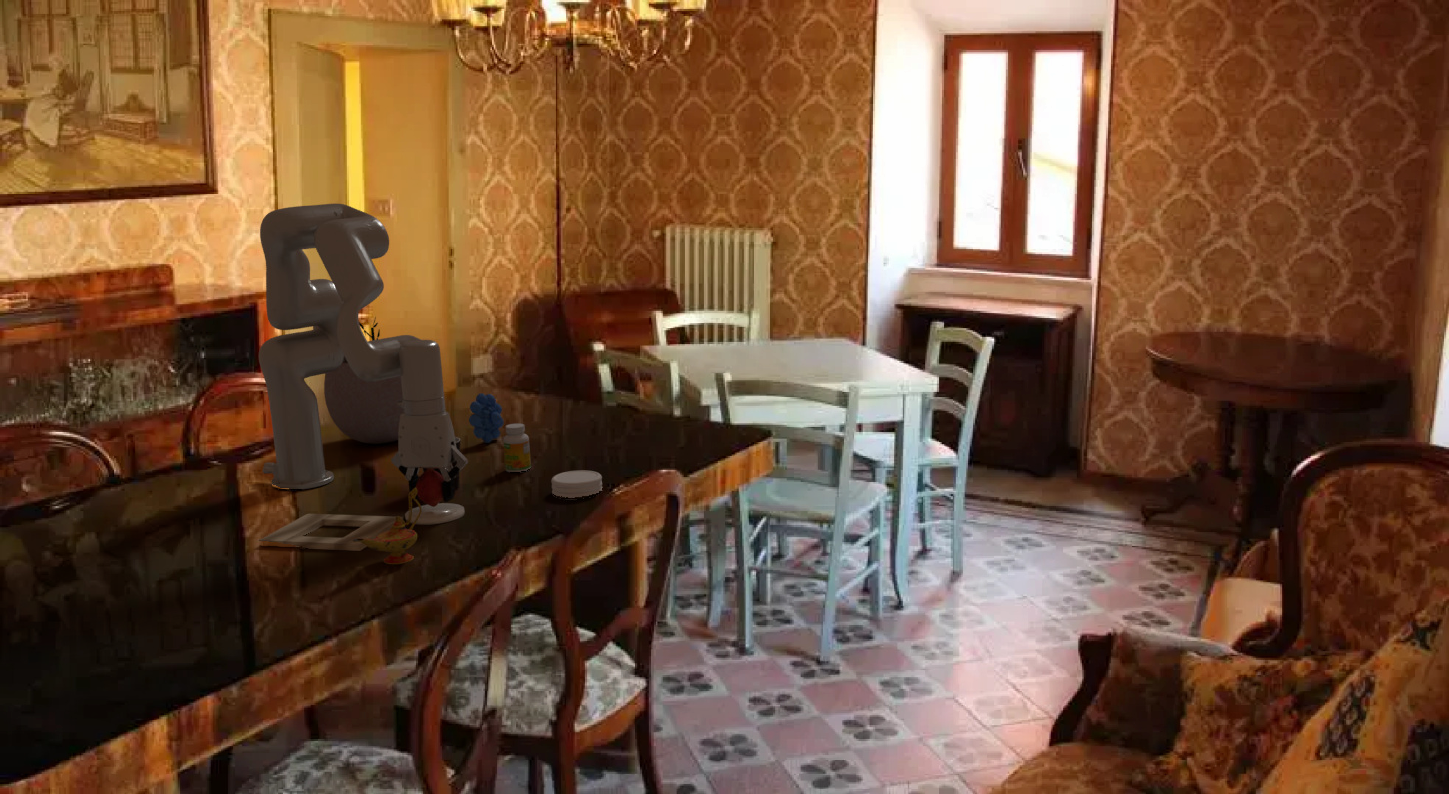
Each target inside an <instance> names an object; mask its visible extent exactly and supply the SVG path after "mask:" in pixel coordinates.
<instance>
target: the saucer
mask: <svg viewBox="0 0 1449 794" xmlns="http://www.w3.org/2000/svg"><path fill="white" fill-rule="evenodd" d="M421 509H422V511H421V514H420V517H419V518H418V520H417V522H416V523H415V525H420V526H421V525H425V526H426V525H427V526H428V525H437V524H446V523H449V522H452V521H456V520H458V519H460V518H462V517H463V516H464V515H465V507H464V506H463V505H460V504H458V503H452V502H451V503H450V502H449V503H448V502H442V503H440V502H439V503H438V505H437V506H435V507H432V506H430V505H428V504H423V505H421ZM419 512H420V508H419V506H416V507H412V518H411V522H410V523H409V524H411V525H412V524H413V523H414V521H415V520H416V518H417V516H418V514H419ZM410 514H411V513H410ZM404 515H405V516H404V517H405V518H404V519H405V521H406V522H407V520H408V518H409V517H408V516H411V515H409V510H407V511H406V512H405V514H404ZM409 519H410V518H409Z"/></svg>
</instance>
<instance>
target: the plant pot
mask: <svg viewBox="0 0 1449 794" xmlns="http://www.w3.org/2000/svg"><path fill="white" fill-rule="evenodd" d="M376 319H377V317H376V316H375V318H374V319H373V324H372V327H370V332H371V334H370V333H369V332H368V331H367V330H365V327H364V325H363V323H361V322H360V321H359V325H360V328H361V330H362V331H363V334H364V336H369V338H371V341H372V340H378V339H379V337H380V336H381V334H380V332H381V331H380V328H378V330H377V331H378V332H377V336H376V337H377V338H376V339H375V329H374V328H376V327H377V326H378V324H379V322H376ZM375 322H376V323H375ZM323 383H324V384H323V386H324V387H323V388H324V389H323V390H324V391H323V393H324V401H325V405H326V409H327V411H328V413H329V416H330V418H331V420H332V422H333V424H335V426H336V427H337V428H338V429H339V430H340V431H341V432H342V433H343V434H344V435H345V436H346V437H348V438H350V439H352V440H354V441H358V442H361V443H364V444H371V445H372V444H373V445H377V444H378V445H380V444H381V445H382V444H389V443H393V442H396V441H398V434H399V422H400V415H402V414H404V412H403V408H402V407H398V405H397V403H398V400H402V398H403V393H402V384H401V376H398V377H392V378H387V379H383V380H378V381H373V382H367V381H363V380H361V379H360V378H358V377H357V376H356V375H355V374H354V372H353V371H352V369H351V368H350V366H349V364H348V362H347V360H346V358H345V356H344V359H343V362H342V365H341V366H340V367H339V368H338V369H337V370H335V371H333V372H330V373H325V374H324V381H323Z"/></svg>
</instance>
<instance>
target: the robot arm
mask: <svg viewBox="0 0 1449 794" xmlns="http://www.w3.org/2000/svg"><path fill="white" fill-rule="evenodd" d="M389 237H390V235H389V234H388V231H387V229H386V227H385V226H384V225H383V223H382V222H381V221H380V220H379V219H378V218H377V217H375V216H374V215H371V214H370V213H366V212H365V211H362V210H360V209H357V208H356V207H352V206H350V205H347V204H344V203H324V204H323V203H322V204H313V205H298V206H289V207H284V208H279V209H278V208H277V209H274V210H272V211H270V212H268V213H266V215H264V217H263V219H262V221H261V224H260V228H259V238H260V244H261V248H262V252H263V257H264V261H265V284H266V285H265V300H266V301H265V302H266V303H265V304H266V305H265V307H266V317H267V320H268V323H269V324H270V326H271V327H272V328H274V329H276V330H279V331H290V330H291V331H292V330H293V331H294V330H300V329H306V328H309V327H311V328H312V329H311V330H305V331H297V332H292V333H291V332H290V333H286V334H281V335H280V334H279V335H277V336H274V337H271V338H269V339H267V340H266V341H265V342H263V343H262V345H261V346H260V347H259V351H258V362H259V367H260V370H261V372H262V376H263V379H264V381H265V382H264V383H265V386H266V390H267V396H268V403H269V410H270V412H269V413H270V416H271V417H270V418H271V419H270V420H271V425H272V434H273V435H272V436H273V442H274V451H275V461H276V462H265V463H264V464H263V468H262V473H263V474H268V475H269V474H272V475H273V478H272V479H271V480H272V481H271V482H270V484H271V483H272V484H273V485H276V486H278V487H280V488H289V489H302V490H308V489H313V488H318V487H322V486H324V485H327V484H330V483H331V482H332V481H333V480H334V478H335V476H334V473H333V472H332V471H331V470H326V465H325V456H324V447H323V446H324V445H323V440H322V430H321V422H320V413H319V404H318V403H319V402H318V398H317V396H316V394H315V392H314V390H313V389H312V388H311V387H310V386H309V384H307V383H306V380H305V379H306V378H310V377H315V376H319V375H325V373H330V372H333V371H335V370H337V369H338V368H339V367H340V366H341V365H342V362H343V359H344V356H345V358H346V360H347V362H348V364H349V366H350V368H351V369H352V371H353V372H354V374H355V375H356V376H357V377H358V378H360V379H361V380H363V381H367V382H373V381H378V380H383V379H387V378H392V377H398V376H401V384H402V393H403V398H402V400H398V403H397V405H398V407H402V408H403V412H404V414H402V415H400V422H399V434H398V440H397V441H398V444H397V445H398V447H397V448H398V451H397V452H396V453H395V454H394V455H393V457H392V458H391V460H390V461H391V464H393V465H394V466H395V467H396V468H398V471H400V473H401V474H403V476H404V477H405V480H406V481H408V489H409V490H408V491H409V493H410V492H411V491H412V490H413V489H414V488H416V484H417V481H418V479H419V477H420V476H421V475H419V471H420V469H422V468H439V469H440V471H441V473H442V475H443V478H444V481H443V482H442V491H443V499H442V500H443V503H448V502H450V501H452V500H453V499H454V498H455V495H456V490H455V486H454V478H455V477H456V475H457V474H458V473H459V474H460V472H461V471H462V470H463V468H464V467H466V465H468V463H469V460H468V458H467V457H465V455H464V454H463V453H462V452H461V450H460V451H459V450H458V449H457V448H456V441H455V437H456V435H455V431H454V426H453V423H452V420H451V415H450V413H449V412H448V411H446V403H445V392H444V391H445V390H444V380H443V378H444V377H443V369H442V358H441V349H440V345H439V343H438V342H437V341H435V340H431V339H420V338H418V337H416V336H414V335H410V334H402V335H396V336H391V337H384V338H383V337H382V338H380V339H379V338H378V340H376V339H375V340H372V339H371V340H370V341H369V340H367V337H366V335H365V333H364V331H363V329H362V328H361V326H360V325H359V322H360V321H359V320H360V319H359V314H360V311H361V310H363V309H364V308H366V307H367V306H369V305H370V304H371V303H373V302H374V301H375V300H377V299H378V297H380V295H381V294H382V293H383V291H384V287H385V284H384V281H383V279H382V277H381V276H380V274H379V271H378V269H377V268H376V265H375V264H374V262H373V260H376V259H380V258H383V256H386V254H387V253H388V251H389V248H390V238H389ZM310 249H315V250H316V252H317V254H318V256H319V258H320V260H321V262H322V264H323V266H324V267H325V269H326V270H325V271H327V274H328V276H329V277H330V279H326V278H317V279H316V278H315V279H311V265H310V260H309V258H308V256H307V255H306V253H305V251H304V250H310ZM455 461H457V464H456V466H455V467H454V468H453V466H452V464H451V463H452V462H455ZM272 484H271V485H272ZM409 496H411V493H410V495H409ZM415 499H416V500H417V501H418V500H420V499H419V497H418V496H417V495H416V496H415ZM412 502H415V501H414V499H413V498H412Z"/></svg>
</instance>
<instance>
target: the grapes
mask: <svg viewBox="0 0 1449 794" xmlns="http://www.w3.org/2000/svg"><path fill="white" fill-rule="evenodd" d="M469 410H470V411H471V413H472V414H471V415H469V418H468V422H469V424H470V425H471V426H472V427H473V430H472V431H473V435H474V436H475V438H477V439H481V440H482V441H483V443H486V444H489V443H492V441H493V440H495V439H498V438H500V436H501V431H500V428H502V427H503V426H504V424H505V423H504V419H503V417H502V416H501V414H502V412H503V408H502V405H500V404H499V403H497V400H496V398H495V396H494V395H493V394H491V393H489V394H488V393H487V394H484V393H479V394H477V396H476V397H475V401H472V402H471V403H470V405H469Z"/></svg>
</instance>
